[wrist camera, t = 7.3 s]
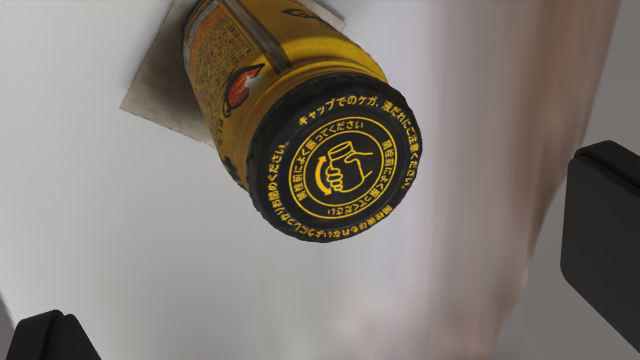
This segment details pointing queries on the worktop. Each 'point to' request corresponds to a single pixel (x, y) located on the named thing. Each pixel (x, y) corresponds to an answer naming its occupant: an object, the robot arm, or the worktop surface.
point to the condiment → (284, 111)
